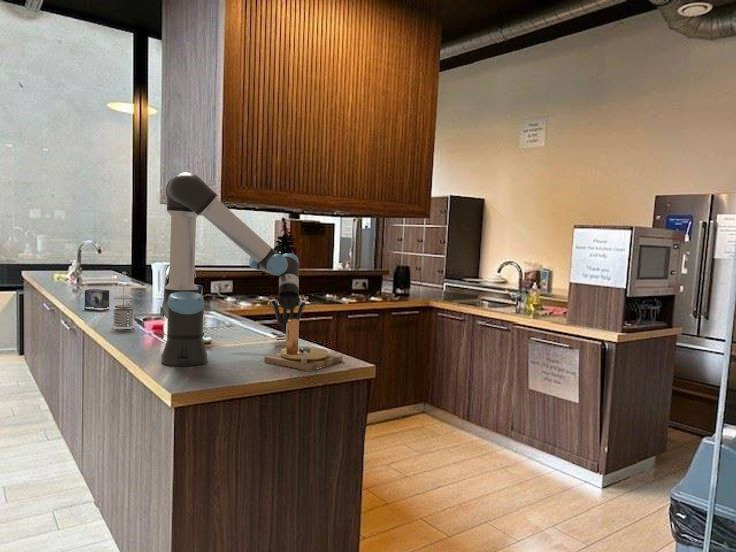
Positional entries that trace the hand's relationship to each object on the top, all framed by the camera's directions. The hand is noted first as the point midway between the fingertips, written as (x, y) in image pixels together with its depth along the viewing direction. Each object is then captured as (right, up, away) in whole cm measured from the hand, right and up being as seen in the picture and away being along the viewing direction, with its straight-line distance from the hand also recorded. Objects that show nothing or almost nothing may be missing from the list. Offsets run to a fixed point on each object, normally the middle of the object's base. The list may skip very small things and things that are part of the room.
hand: (287, 340), depth 196 cm
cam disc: (+6, -6, +2) cm, 8 cm away
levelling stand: (+5, -8, +3) cm, 10 cm away
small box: (-114, +5, +94) cm, 148 cm away
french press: (-79, 0, +47) cm, 92 cm away
